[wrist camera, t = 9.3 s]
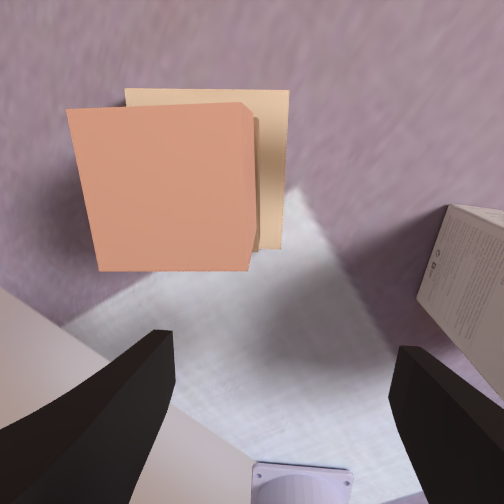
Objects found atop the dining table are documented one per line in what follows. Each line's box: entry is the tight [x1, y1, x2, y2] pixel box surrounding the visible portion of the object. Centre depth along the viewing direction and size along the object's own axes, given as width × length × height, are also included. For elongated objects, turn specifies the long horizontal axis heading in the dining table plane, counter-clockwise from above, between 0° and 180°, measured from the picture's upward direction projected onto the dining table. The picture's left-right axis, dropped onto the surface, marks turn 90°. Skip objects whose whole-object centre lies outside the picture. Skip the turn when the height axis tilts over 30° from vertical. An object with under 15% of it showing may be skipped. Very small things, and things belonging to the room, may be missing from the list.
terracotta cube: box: [66, 102, 257, 271], centre depth 12 cm, size 5×5×5 cm
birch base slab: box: [125, 88, 289, 249], centre depth 18 cm, size 8×8×2 cm
